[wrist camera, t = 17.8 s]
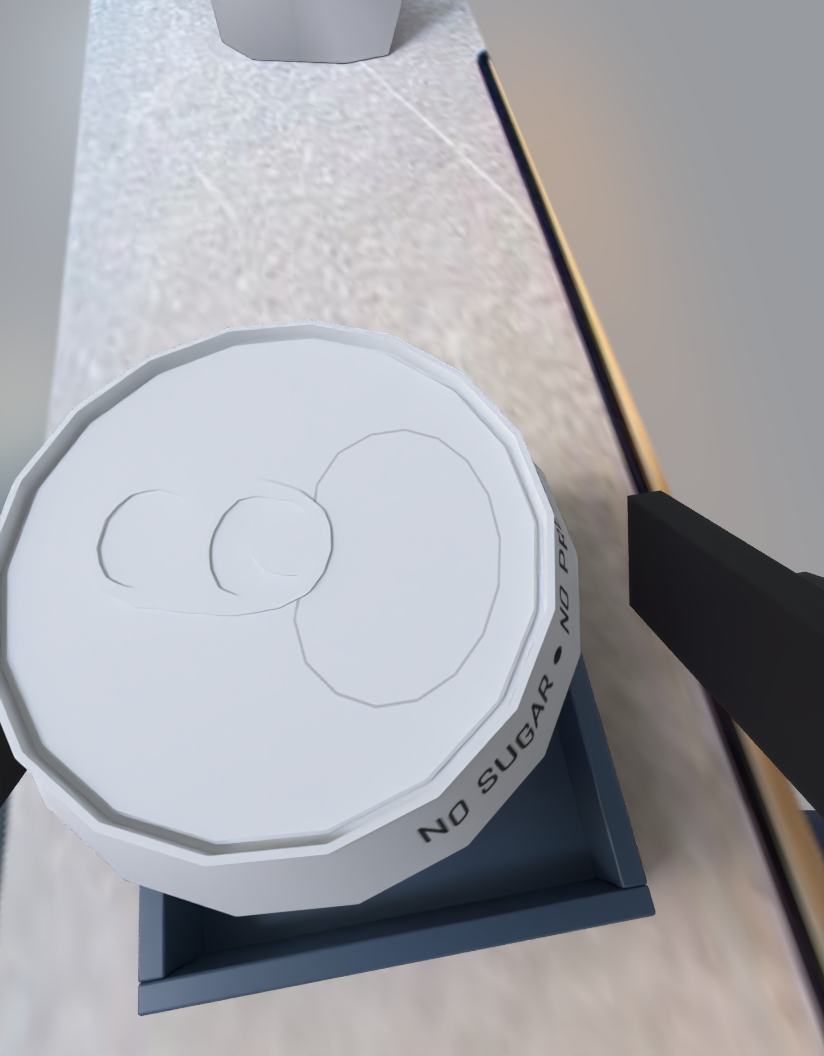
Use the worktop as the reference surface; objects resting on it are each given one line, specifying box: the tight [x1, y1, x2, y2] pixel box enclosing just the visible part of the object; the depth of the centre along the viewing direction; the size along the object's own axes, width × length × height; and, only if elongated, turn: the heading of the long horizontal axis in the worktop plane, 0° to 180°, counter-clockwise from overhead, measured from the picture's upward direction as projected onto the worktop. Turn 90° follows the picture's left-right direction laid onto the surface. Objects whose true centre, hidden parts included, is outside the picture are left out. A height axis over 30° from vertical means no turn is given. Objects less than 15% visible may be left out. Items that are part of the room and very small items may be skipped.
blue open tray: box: [138, 648, 655, 1016], centre depth 20 cm, size 13×13×4 cm
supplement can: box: [0, 320, 581, 917], centre depth 14 cm, size 8×8×15 cm
